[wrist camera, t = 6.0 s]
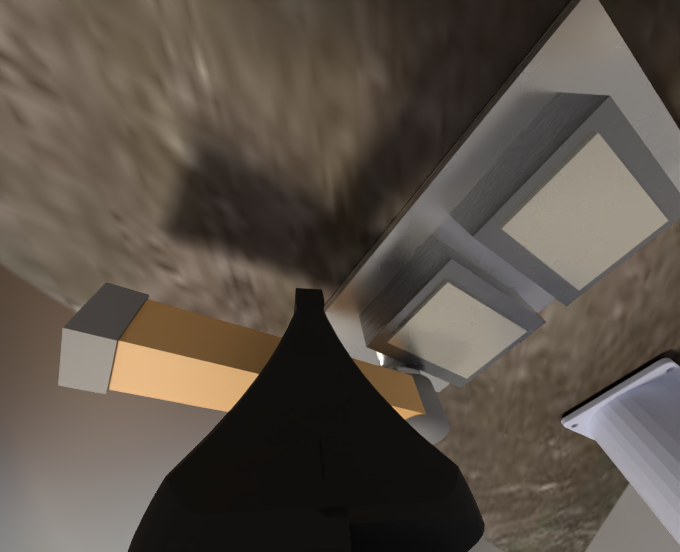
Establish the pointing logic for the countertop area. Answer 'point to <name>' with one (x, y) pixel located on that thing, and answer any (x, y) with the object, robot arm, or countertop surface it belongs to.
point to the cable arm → (200, 359)
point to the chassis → (519, 209)
